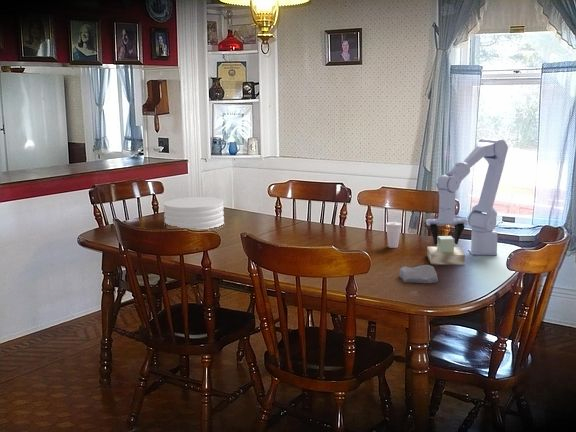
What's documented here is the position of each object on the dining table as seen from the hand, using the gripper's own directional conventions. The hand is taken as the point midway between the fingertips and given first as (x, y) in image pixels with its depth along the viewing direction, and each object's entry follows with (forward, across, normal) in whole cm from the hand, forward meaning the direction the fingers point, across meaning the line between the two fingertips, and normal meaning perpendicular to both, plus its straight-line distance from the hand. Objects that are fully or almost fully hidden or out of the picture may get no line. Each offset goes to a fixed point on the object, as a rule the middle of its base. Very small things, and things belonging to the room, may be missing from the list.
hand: (445, 243), depth 242 cm
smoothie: (+6, +16, -21) cm, 27 cm away
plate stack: (+7, +102, -70) cm, 124 cm away
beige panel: (+7, 0, 0) cm, 7 cm away
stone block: (+7, +15, +23) cm, 29 cm away
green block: (+3, 0, 0) cm, 3 cm away
